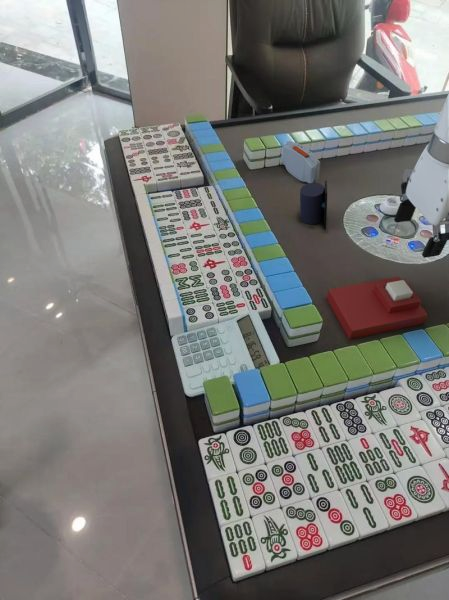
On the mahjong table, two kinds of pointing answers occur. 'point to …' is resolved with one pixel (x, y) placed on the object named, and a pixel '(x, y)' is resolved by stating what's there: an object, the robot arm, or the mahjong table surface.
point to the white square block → (398, 290)
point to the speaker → (313, 203)
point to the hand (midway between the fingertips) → (415, 237)
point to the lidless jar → (390, 206)
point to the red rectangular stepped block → (374, 308)
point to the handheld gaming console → (300, 162)
